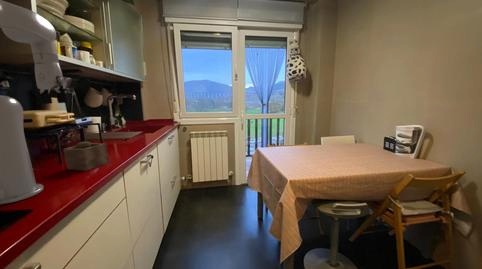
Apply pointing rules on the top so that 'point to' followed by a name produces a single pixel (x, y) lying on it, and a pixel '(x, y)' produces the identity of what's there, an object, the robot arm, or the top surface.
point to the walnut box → (86, 157)
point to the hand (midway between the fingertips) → (55, 103)
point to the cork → (83, 145)
